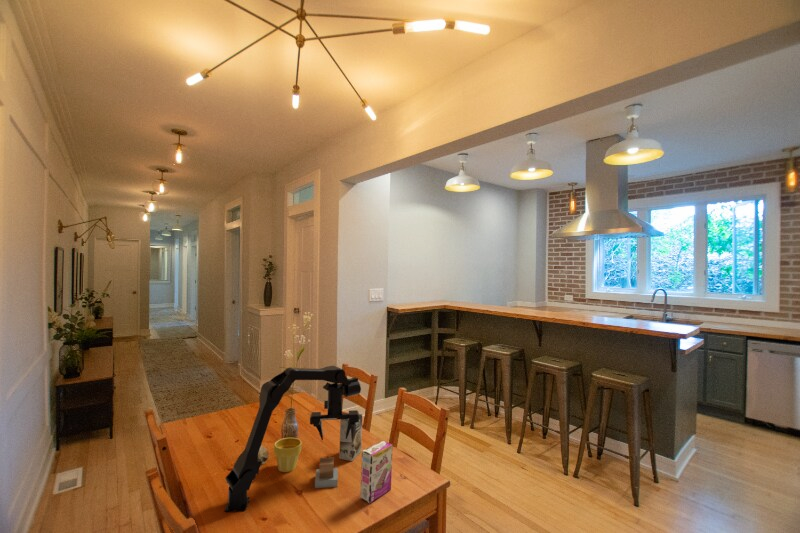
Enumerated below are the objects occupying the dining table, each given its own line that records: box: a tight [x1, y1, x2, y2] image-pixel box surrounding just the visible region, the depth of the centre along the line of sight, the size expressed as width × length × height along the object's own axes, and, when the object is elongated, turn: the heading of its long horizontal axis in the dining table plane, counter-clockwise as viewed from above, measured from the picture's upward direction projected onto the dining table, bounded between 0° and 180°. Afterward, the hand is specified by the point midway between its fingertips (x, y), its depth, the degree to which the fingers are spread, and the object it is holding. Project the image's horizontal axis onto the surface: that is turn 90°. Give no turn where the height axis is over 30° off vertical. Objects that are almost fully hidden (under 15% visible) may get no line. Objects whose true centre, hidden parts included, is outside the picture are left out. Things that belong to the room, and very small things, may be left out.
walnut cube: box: [319, 456, 335, 479], centre depth 137 cm, size 5×5×5 cm
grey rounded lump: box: [258, 444, 270, 466], centre depth 150 cm, size 10×10×8 cm
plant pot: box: [273, 437, 303, 473], centre depth 146 cm, size 10×10×10 cm
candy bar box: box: [360, 440, 393, 505], centre depth 130 cm, size 11×5×16 cm, turn 141°
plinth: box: [314, 467, 339, 489], centre depth 137 cm, size 8×8×2 cm
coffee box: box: [338, 413, 363, 462], centre depth 157 cm, size 9×6×16 cm
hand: (334, 439), depth 145 cm, fingers open, 9 cm apart
